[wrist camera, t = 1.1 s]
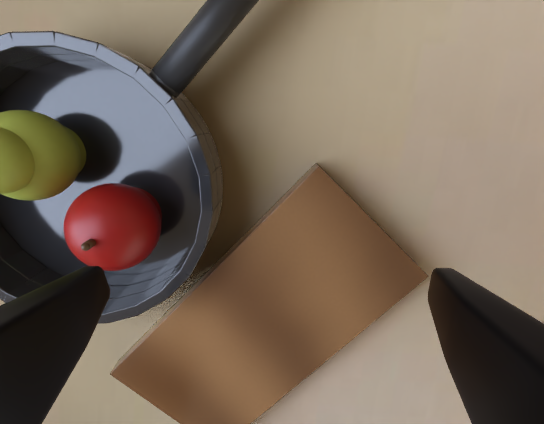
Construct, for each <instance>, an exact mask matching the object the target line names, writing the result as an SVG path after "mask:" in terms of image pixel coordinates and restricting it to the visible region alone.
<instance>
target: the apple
mask: <svg viewBox="0 0 544 424" xmlns="http://www.w3.org/2000/svg"><path fill="white" fill-rule="evenodd" d="M161 222H162V212H161V208H160V206H159V204H158V202H157V200H156V199H155V198H154V197H153V196H152V195H151V194H150V193H148V192H147V191H145V190H143V189H140V188H137V187H132V186H129V185H125V184H119V183H108V184H102V185H98V186H95V187H92V188H90V189H88V190H86V191H85V192H83V193H82V194H81V195H79V196H78V197H77V198H76V199H75V200H74V201H73V203H72V204H71V205H70V207H69V209H68V211H67V213H66V216H65V219H64V237H65V240H66V243H67V245H68V247H69V249H70V250H71V252H72V253H73V254H74V255H75V256H76V257H77V258H78V259H79V260H80V261H81V262H83V263H84V264H86V265H88V266H99V267H101V268H102V269H103V270H105V271H118V270H123V269H127V268H130V267H133V266H135V265H137V264H139V263H140V262H142V261H143V260H144V259H146V258H147V257H148V256H149V255H150V254H151V253H152V251H153V250H154V249H155V247H156V245H157V243H158V241H159V238H160V234H161Z"/></svg>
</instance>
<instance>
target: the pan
mask: <svg viewBox="0 0 544 424" xmlns="http://www.w3.org/2000/svg"><path fill="white" fill-rule="evenodd" d="M151 70H152V69H151V68H149V67H147V66H145V65H143V64H141V63H140V62H138V61H136V60H134V59H133V58H131V57H129V56H127V55H124V54H122V53H120V52H118V51H116V50H113V49H111V48H109V47H107V46H105V45H103V44H100V43H98V42H94V41H90V40H86V39H83V38H79V37H75V36H71V35H68V34H64V33H60V32H54V31H31V32H8V33H5V34H2V35H0V112H5V111H9V110H28V111H34V112H38V113H41V114H44V115H47V116H49V117H51V118H53V119H54V120H56V121H58V122H59V123H61V124H62V125H63V126H64V127H67V128H69V129H70V130H72V131H73V132H75V133H76V134H77V135H78V136H79V138H80V139H81V140H82V142H83V144H84V147H85V150H86V162H85V165H84V167H83V169H82V170H81V171H80V172H79V173H78V175H77V177H76V179H75V180H74V182H73V183H72V184H71V185H70V186H69V187H68V188H67V189H66V190H64V191H63V192H61V193H60V194H58V195H56V196H53V197H50V198H47V199H42V200H32V201H28V200H19V199H14V198H10V197H7V196H4V195H2V194H0V299H1V300H2V301H4V302H5V303H7V302H10V301H12V300H14V299H16V298H18V297H20V296H22V295H25V294H27V293H29V292H31V291H33V290H35V289H37V288H40V287H42V286H44V285H46V284H48V283H50V282H52V281H55V280H57V279H59V278H61V277H63V276H65V275H68V274H70V273H72V272H74V271H76V270H78V269H80V268H83V267H85V266H88V265H86V264H84V263H83V262H81V261H80V260H79V259H78V258H77V257H76V256H75V255H74V254H73V253H72V252H71V250H70V249H69V247H68V245H67V243H66V240H65V237H64V219H65V216H66V213H67V211H68V209H69V207H70V205H71V204H72V203H73V201H74V200H75V199H76V198H77V197H78V196H79V195H81V194H82V193H83V192H85V191H86V190H88V189H90V188H92V187H95V186H98V185H102V184H108V183H119V184H125V185H129V186H132V187H137V188H140V189H143V190H145V191H147V192H148V193H150V194H151V195H152V196H153V197H154V198H155V199H156V200H157V202H158V204H159V206H160V208H161V212H162V222H161V234H160V238H159V241H158V243H157V245H156V247H155V249H154V250H153V251H152V253H151V254H150V255H149V256H148V257H147V258H146V259H144V260H143V261H142V262H140V263H139V264H137V265H135V266H133V267H130V268H127V269H123V270H118V271H105V270H103V271H104V273H105V276H106V279H107V282H108V284H109V287H110V297H109V299H108V302H107V304H106V306H105V308H104V310H103V312H102V315H101V317H100V319H99V321H98V323H110V322H114V321H118V320H122V319H126V318H130V317H133V316H137V315H139V314H142V313H143V312H145V311H147V310H149V309H150V308H152V307H154V306H156V305H158V304H159V303H161V302H163V301H165V300H166V299H167V298H169V297H170V296H171V295H172V294H173V293H174V292H175V291H176V290H177V289H178V288H179V287H180V286H181V285H182V284H183V283H184V282H185V281H186V280H187V279H188V278H189V277H190V275H191V274H192V272H193V270H194V268H195V266H196V265H197V263H198V261H199V259H200V257H201V255H202V253H203V252H204V250H205V248H206V246H207V244H208V242H209V240H210V238H211V236H212V234H213V233H214V231H215V229H216V226H217V221H218V218H219V214H220V211H221V205H222V198H223V177H222V169H221V163H220V159H219V155H218V151H217V148H216V145H215V143H214V140H213V138H212V135H211V133H210V131H209V129H208V127H207V126H206V124H205V122H204V120H203V118H202V117H201V115H200V114H199V113H198V111H197V110H196V108H195V107H194V106H193V104H192V103H191V102H190V101H189V100H188V99H187V98H186V96H185V95H184V94H183V93H181V94H180V95H179V96H178V97H177V96H175V95H173V94H172V93H170V92H169V91H168V90H166V89H165V88H164V87H163V86H162V85H161V84H160V83H159V82H158V81H156V79H155V78H154V77H153V76H152V75H151V73H150V72H151Z"/></svg>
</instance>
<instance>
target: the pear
mask: <svg viewBox="0 0 544 424" xmlns="http://www.w3.org/2000/svg"><path fill="white" fill-rule="evenodd" d="M85 162H86V150H85V147H84V144H83V142H82V140H81V139H80V138H79V136H78V135H77V134H76V133H75V132H73V131H72V130H70V129H69V128H67V127H64V126H63V125H62V124H61V123H59V122H58V121H56V120H54V119H53V118H51V117H49V116H47V115H44V114H41V113H38V112H34V111H28V110H9V111H5V112H0V194H2V195H4V196H7V197H10V198H14V199H19V200H28V201H32V200H42V199H47V198H50V197H53V196H56V195H58V194H60V193H61V192H63V191H64V190H66V189H67V188H68V187H69V186H70V185H71V184H72V183H73V182H74V180H75V179H76V177H77V175H78V173H79V172H80V171H81V170H82V169H83V167H84V165H85Z"/></svg>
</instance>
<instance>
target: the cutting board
mask: <svg viewBox="0 0 544 424" xmlns="http://www.w3.org/2000/svg"><path fill="white" fill-rule="evenodd" d="M427 277H428V275H427V274H426V273H425V272H424V271H423V270H422V269H421V268H420V267H419V266H418V265H417V264H416V263H415V262H414V261H413V260H412V259H411V258H410V257H409V256H408V255H407V254H406V253H405V252H404V251H403V250H402V249H401V248H400V247H399V246H398V245H397V244H396V243H395V242H394V241H393V240H392V239H391V238H390V237H389V236H388V235H387V234H386V233H385V232H384V231H383V230H382V229H381V228H380V227H379V226H378V225H377V224H376V223H375V222H374V221H373V220H372V219H371V218H370V217H369V216H368V215H367V214H366V213H365V212H364V211H363V210H362V209H361V208H360V207H359V206H358V205H357V204H356V203H355V202H354V201H353V200H352V199H351V198H350V197H349V196H348V195H347V194H346V193H345V192H344V191H343V190H342V189H341V188H340V187H339V186H338V185H337V184H336V183H335V182H334V181H333V180H332V179H331V177H330V176H329V175H328V174H327V173H326V172H325V171H324V170H323V169H322V168H321V167H320V166H319V165H317V164H315V165H314V166H313V167H312V168H311V169H310V170H309V171H308V172H307V173H306V174H305V175H304V176H303V177H302V178H301V179H300V180H298V181H297V182H296V183H295V184H294V185H293V186H292V187H291V188H290V189H289V190H288V191H287V192H286V193H285V194H284V195H283V196H282V197H281V198H280V199H279V200H278V201H277V202H276V203H275V204H274V205H273V206H272V207H271V208H270V209H269V210H268V211H267V212H266V213H265V214H264V215H263V216H262V217H261V218H260V219H259V220H258V221H257V222H256V223H255V224H254V225H253V226H252V227H251V228H250V229H249V230H248V231H247V232H246V233H245V234H244V235H243V236H242V237H241V238H240V239H239V240H238V241H237V242H236V243H235V244H234V245H233V246H232V247H231V248H230V249H229V250H228V251H227V252H226V253H225V254H224V255H223V256H222V257H221V258H220V259H219V260H218V261H217V262H216V263H215V264H214V265H213V266H212V267H211V268H210V269H209V270H208V271H207V272H206V273H205V274H204V275H203V276H202V277H201V278H200V279H199V280H198V281H197V282H196V283H195V284H194V285H193V286H192V287H191V288H190V289H189V290H188V291H187V292H186V293H185V294H184V295H183V296H182V297H181V298H180V299H179V300H178V301H177V302H176V303H175V304H174V305H173V306H172V307H171V308H170V309H169V310H168V311H167V312H166V313H165V314H164V315H163V316H162V317H161V318H160V319H159V320H158V321H157V322H156V323H155V324H154V325H153V326H152V327H151V328H150V329H149V330H148V331H147V332H146V333H145V334H144V335H143V336H142V337H141V338H140V339H139V340H138V341H137V342H136V343H135V344H134V345H133V346H132V347H131V348H130V349H129V350H128V351H127V352H126V353H125V354H124V355H123V356H122V357H121V358H120V359H119V361H118V362H117V364H116V365H115V367H114V368H113V370H112V371H111V373H110V375H112V376H113V377H115V378H116V379H117V380H119V381H120V382H122V383H123V384H125V385H126V386H127V387H129V388H130V389H132V390H133V391H135V392H136V393H137V394H139V395H140V396H142V397H143V398H144V399H146V400H147V401H149V402H150V403H152V404H153V405H154V406H156V407H157V408H159V409H160V410H162V411H163V412H164V413H166V414H167V415H169V416H170V417H172V418H173V419H174V420H176V421H177V422H179V423H180V424H251V423H252V422H253V421H254V420H255V419H257V418H258V417H259V416H260V415H261V414H263V413H264V412H265V411H266V410H268V409H269V408H270V407H271V406H272V405H274V404H275V403H276V402H277V401H278V400H280V399H281V398H282V397H283V396H284V395H286V394H287V393H288V392H289V391H291V390H292V389H293V388H294V387H295V386H297V385H298V384H299V383H300V382H301V381H303V380H304V379H305V378H306V377H307V376H309V375H310V374H311V373H312V372H314V371H315V370H316V369H317V368H318V367H320V366H321V365H322V364H323V363H324V362H326V361H327V360H328V359H329V358H331V357H332V356H333V355H334V354H335V353H337V352H338V351H339V350H340V349H341V348H343V347H344V346H345V345H346V344H347V343H349V342H350V341H351V340H352V339H354V338H355V337H356V336H357V335H358V334H360V333H361V332H362V331H363V330H364V329H366V328H367V327H368V326H369V325H371V324H372V323H373V322H374V321H375V320H377V319H378V318H379V317H380V316H381V315H383V314H384V313H385V312H386V311H387V310H389V309H390V308H391V307H392V306H394V305H395V304H396V303H397V302H398V301H400V300H401V299H402V298H403V297H404V296H406V295H407V294H408V293H409V292H411V291H412V290H413V289H414V288H415V287H417V286H418V285H419V284H420V283H421V282H423V281H424V280H425V279H426V278H427Z"/></svg>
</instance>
